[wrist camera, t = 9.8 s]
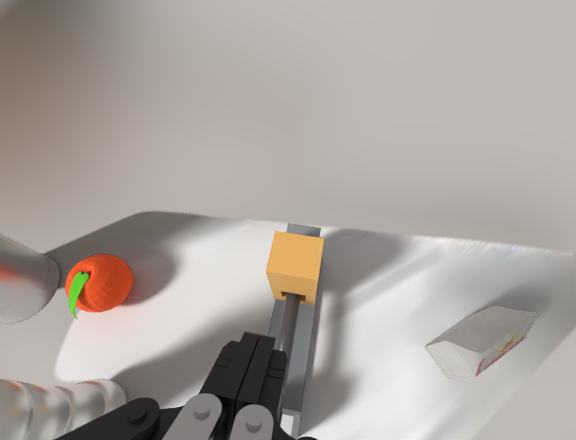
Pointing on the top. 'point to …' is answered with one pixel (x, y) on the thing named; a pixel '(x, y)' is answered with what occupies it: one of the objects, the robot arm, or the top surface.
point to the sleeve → (295, 266)
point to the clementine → (98, 283)
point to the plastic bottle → (54, 407)
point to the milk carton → (479, 340)
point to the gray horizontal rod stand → (293, 344)
